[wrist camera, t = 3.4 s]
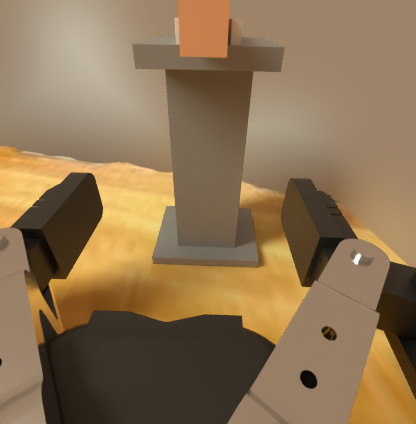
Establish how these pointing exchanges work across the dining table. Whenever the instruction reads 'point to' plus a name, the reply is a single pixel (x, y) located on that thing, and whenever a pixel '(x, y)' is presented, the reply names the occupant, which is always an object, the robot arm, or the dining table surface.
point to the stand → (208, 146)
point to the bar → (203, 28)
